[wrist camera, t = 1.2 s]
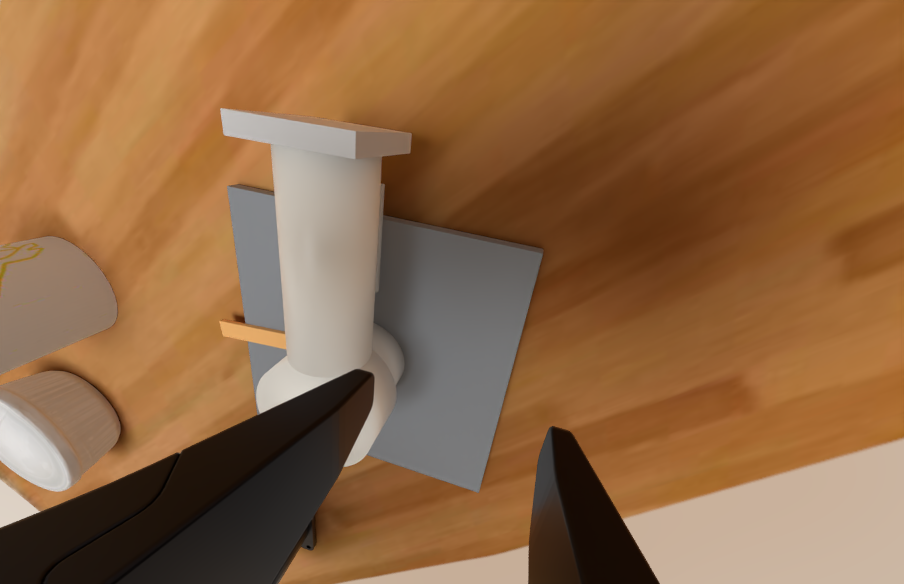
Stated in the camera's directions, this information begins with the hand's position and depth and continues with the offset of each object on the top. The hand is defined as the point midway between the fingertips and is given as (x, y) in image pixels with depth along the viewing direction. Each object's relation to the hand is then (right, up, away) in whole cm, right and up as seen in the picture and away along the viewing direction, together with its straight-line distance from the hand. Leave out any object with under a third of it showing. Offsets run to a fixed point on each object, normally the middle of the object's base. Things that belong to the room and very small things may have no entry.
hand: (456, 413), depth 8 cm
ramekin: (-37, -9, +28) cm, 48 cm away
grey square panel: (-6, 0, +15) cm, 17 cm away
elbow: (-5, +2, +11) cm, 13 cm away
